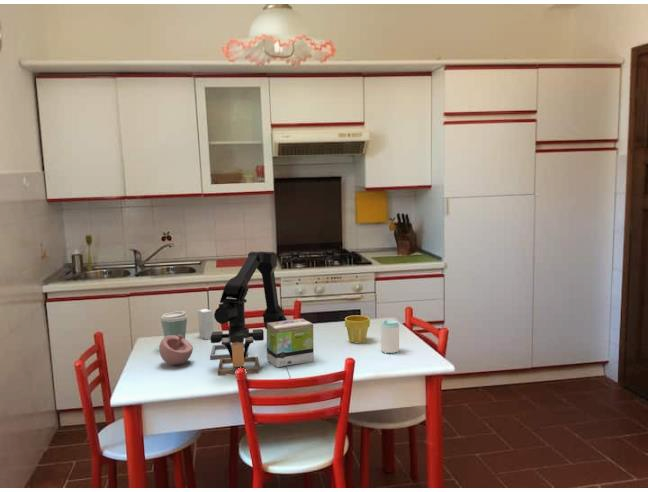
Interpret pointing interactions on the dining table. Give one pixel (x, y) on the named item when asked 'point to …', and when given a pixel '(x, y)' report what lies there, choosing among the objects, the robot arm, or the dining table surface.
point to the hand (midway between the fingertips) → (238, 359)
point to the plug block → (238, 353)
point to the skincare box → (205, 323)
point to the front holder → (232, 371)
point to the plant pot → (357, 327)
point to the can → (389, 336)
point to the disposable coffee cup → (174, 323)
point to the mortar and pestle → (175, 349)
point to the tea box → (289, 342)
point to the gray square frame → (213, 357)
